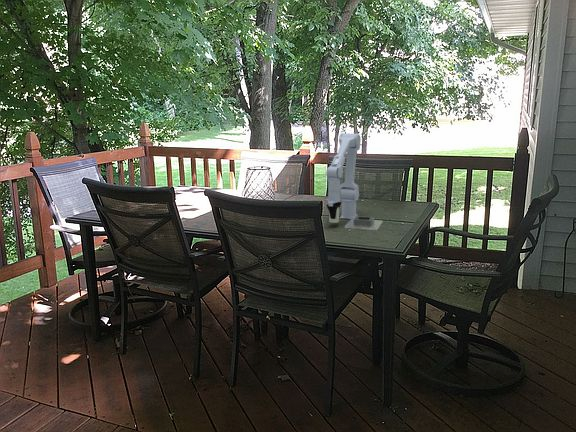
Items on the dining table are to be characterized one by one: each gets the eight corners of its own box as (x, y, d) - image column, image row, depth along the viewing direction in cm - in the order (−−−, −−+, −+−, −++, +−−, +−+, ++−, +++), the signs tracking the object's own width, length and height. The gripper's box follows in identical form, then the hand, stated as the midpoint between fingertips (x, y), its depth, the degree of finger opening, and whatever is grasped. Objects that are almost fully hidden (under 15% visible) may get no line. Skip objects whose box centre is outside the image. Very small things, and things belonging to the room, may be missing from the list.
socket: (351, 220, 262) (351, 214, 262) (382, 222, 257) (382, 215, 257) (344, 228, 248) (344, 221, 247) (377, 230, 243) (377, 223, 242)
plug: (331, 220, 254) (331, 206, 253) (338, 220, 253) (339, 207, 252) (329, 222, 251) (329, 208, 249) (337, 222, 250) (337, 208, 248)
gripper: (329, 187, 256) (329, 213, 259) (322, 193, 243) (322, 220, 246) (343, 188, 254) (343, 214, 257) (336, 193, 241) (336, 221, 244)
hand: (334, 217), depth 252 cm, fingers closed on plug, 4 cm apart
